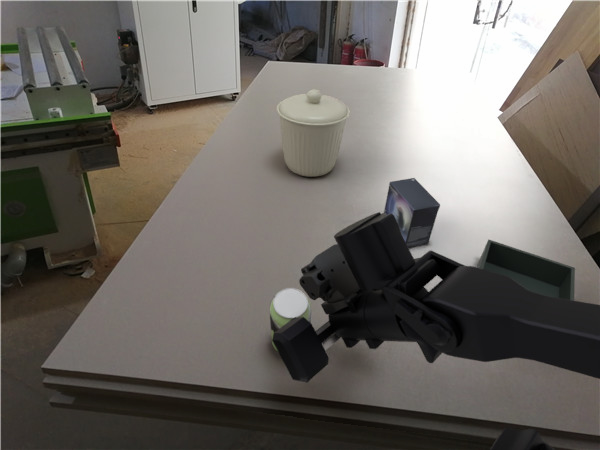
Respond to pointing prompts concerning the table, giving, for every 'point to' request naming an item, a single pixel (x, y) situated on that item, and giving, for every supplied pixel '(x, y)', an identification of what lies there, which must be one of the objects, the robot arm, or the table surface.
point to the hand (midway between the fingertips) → (307, 317)
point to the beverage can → (288, 308)
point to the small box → (412, 210)
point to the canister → (311, 132)
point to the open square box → (529, 270)
